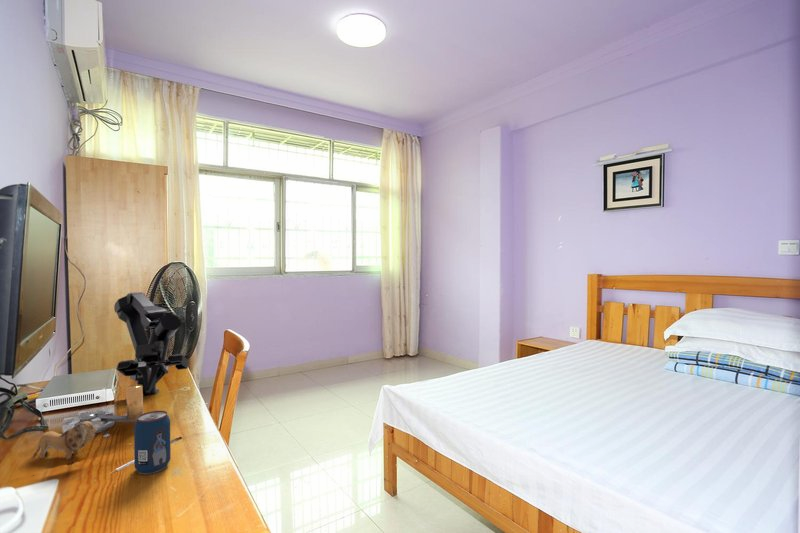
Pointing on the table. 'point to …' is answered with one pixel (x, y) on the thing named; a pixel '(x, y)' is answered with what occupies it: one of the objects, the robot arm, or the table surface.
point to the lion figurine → (67, 439)
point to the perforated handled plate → (110, 413)
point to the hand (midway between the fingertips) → (147, 391)
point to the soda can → (152, 442)
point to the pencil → (133, 460)
